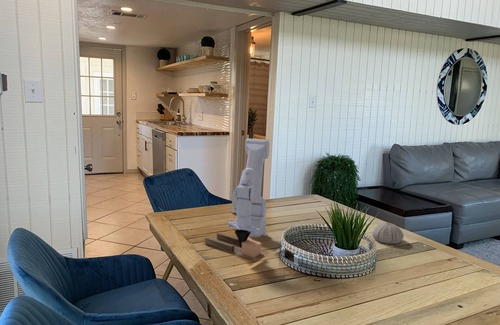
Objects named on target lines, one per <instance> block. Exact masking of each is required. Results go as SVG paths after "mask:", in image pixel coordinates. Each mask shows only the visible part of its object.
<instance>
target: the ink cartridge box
mask: <svg viewBox="0 0 500 325" xmlns="http://www.w3.org/2000/svg"><path fill="white" fill-rule="evenodd" d="M235 191H236V188H235V189H234V190H232V196H231V197H232V198H231V199H232V200H231V214H237V203H236V197H235ZM251 203H253V202H251Z"/></svg>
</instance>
